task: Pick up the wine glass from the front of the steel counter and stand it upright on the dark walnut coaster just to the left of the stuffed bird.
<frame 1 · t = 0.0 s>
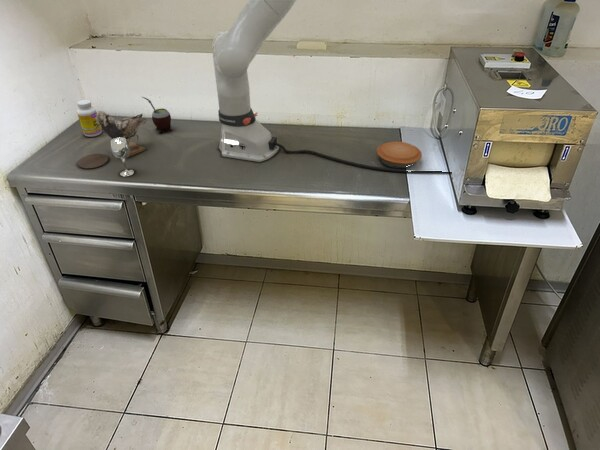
wineglass: (127, 173, 147), on the table
supplement bottle: (93, 134, 171), on the table
mate gourd: (163, 131, 173), on the table
stuffed bird: (129, 151, 160), on the table
pie: (397, 161, 154), on the table
coaster: (93, 162, 153), on the table
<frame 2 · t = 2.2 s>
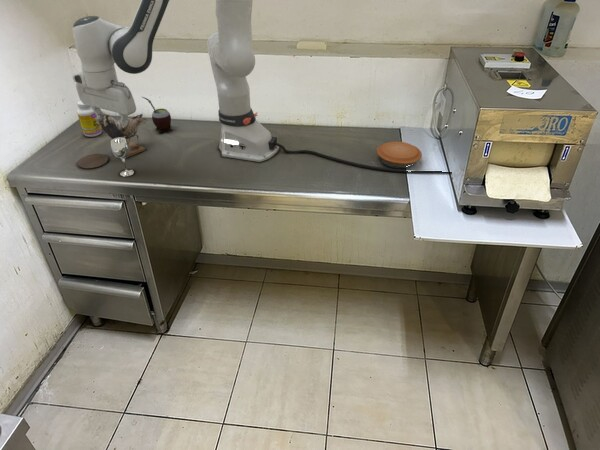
hand: (112, 122, 136), 18 cm above the table, tool pointing down, fingers open, 8 cm apart
nothing on the table moved.
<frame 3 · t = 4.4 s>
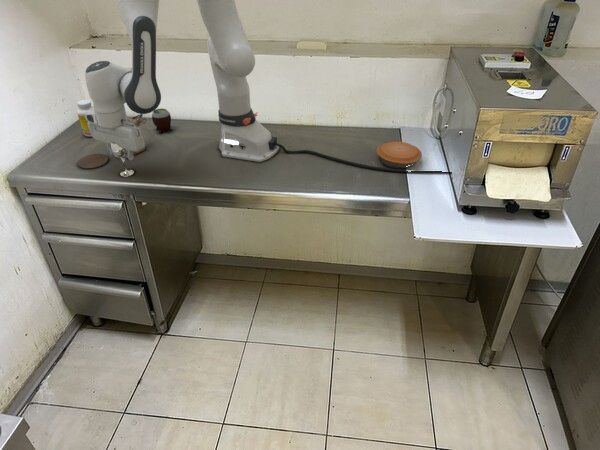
hand: (122, 156, 143), 6 cm above the table, tool pointing down, fingers closed on wineglass, 5 cm apart
wineglass: (127, 173, 147), on the table, touching gripper
everything else where it was.
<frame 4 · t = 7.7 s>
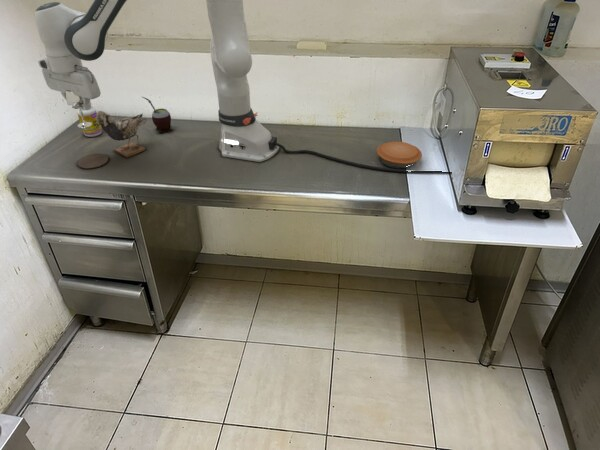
hand: (79, 107, 140), 21 cm above the table, tool pointing down, fingers closed on wineglass, 5 cm apart
wineglass: (85, 125, 144), point 14 cm above the table, touching gripper
everything else where it was.
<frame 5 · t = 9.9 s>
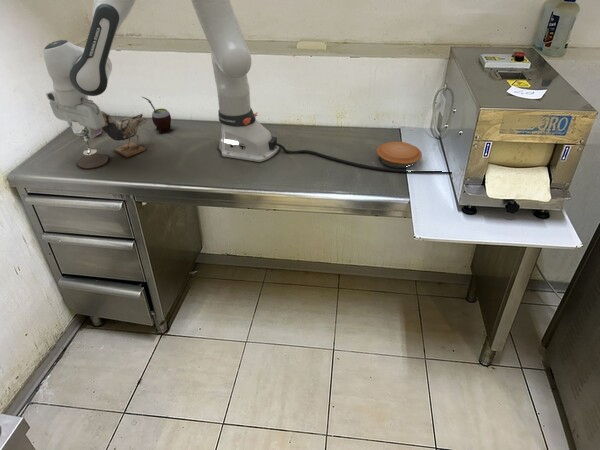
hand: (84, 135, 147), 10 cm above the table, tool pointing down, fingers closed on wineglass, 5 cm apart
wineglass: (90, 152, 151), point 4 cm above the table, touching gripper
everything else where it was.
when the fingers open (6 cm above the table, at t = 11.3 s): wineglass stays where it is, resting on coaster.
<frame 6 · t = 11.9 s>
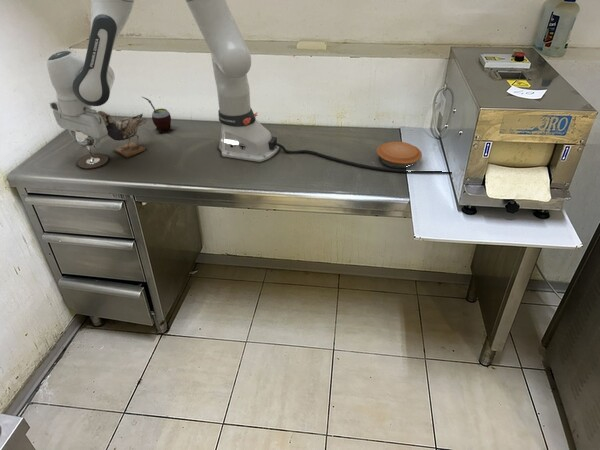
hand: (87, 144, 149), 7 cm above the table, tool pointing down, fingers open, 8 cm apart
wineglass: (93, 161, 153), resting on coaster
everything else where it was.
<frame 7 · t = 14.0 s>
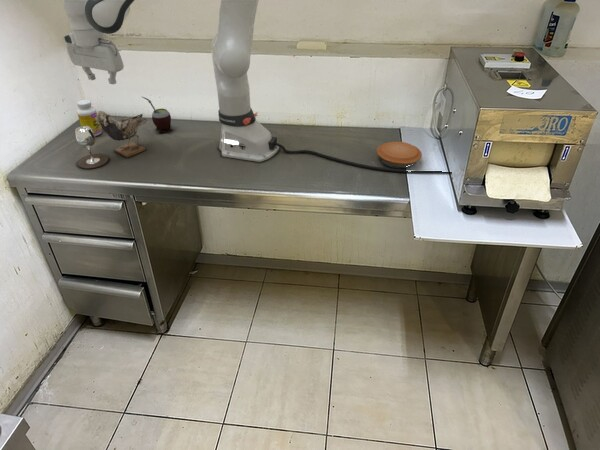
hand: (102, 81, 143), 26 cm above the table, tool pointing down, fingers open, 8 cm apart
nothing on the table moved.
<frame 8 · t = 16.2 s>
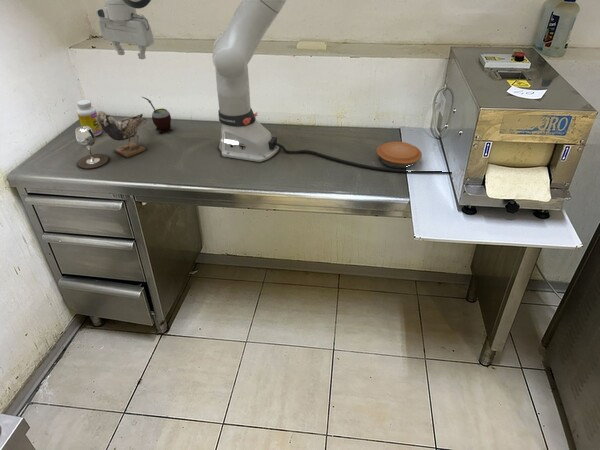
hand: (131, 56, 147), 31 cm above the table, tool pointing down, fingers open, 8 cm apart
nothing on the table moved.
at the end: wineglass inside the target area on the table beside the stuffed bird (1.0 cm from its centre), point 0.5 cm above the table; wineglass 0.1 cm from the coaster (horizontally); wineglass tilted 0° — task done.
